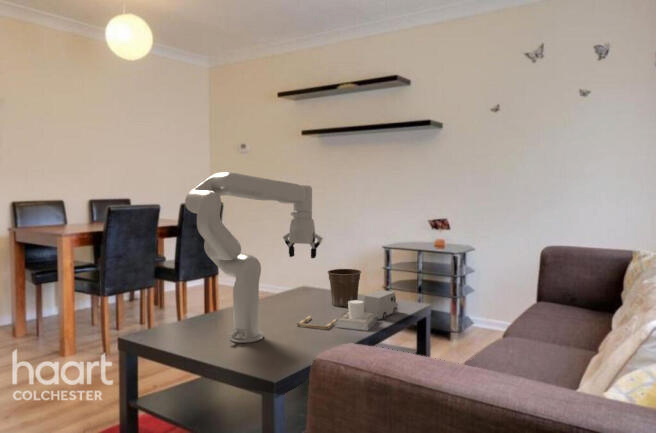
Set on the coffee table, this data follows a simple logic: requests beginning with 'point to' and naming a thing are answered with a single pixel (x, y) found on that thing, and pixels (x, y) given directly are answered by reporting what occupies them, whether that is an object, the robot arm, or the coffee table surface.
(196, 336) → the coffee table surface
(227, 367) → the coffee table surface
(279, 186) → the robot arm
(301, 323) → the cradle
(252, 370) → the coffee table surface
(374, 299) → the toy vehicle
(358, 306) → the white cup
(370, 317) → the plate
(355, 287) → the plant pot
